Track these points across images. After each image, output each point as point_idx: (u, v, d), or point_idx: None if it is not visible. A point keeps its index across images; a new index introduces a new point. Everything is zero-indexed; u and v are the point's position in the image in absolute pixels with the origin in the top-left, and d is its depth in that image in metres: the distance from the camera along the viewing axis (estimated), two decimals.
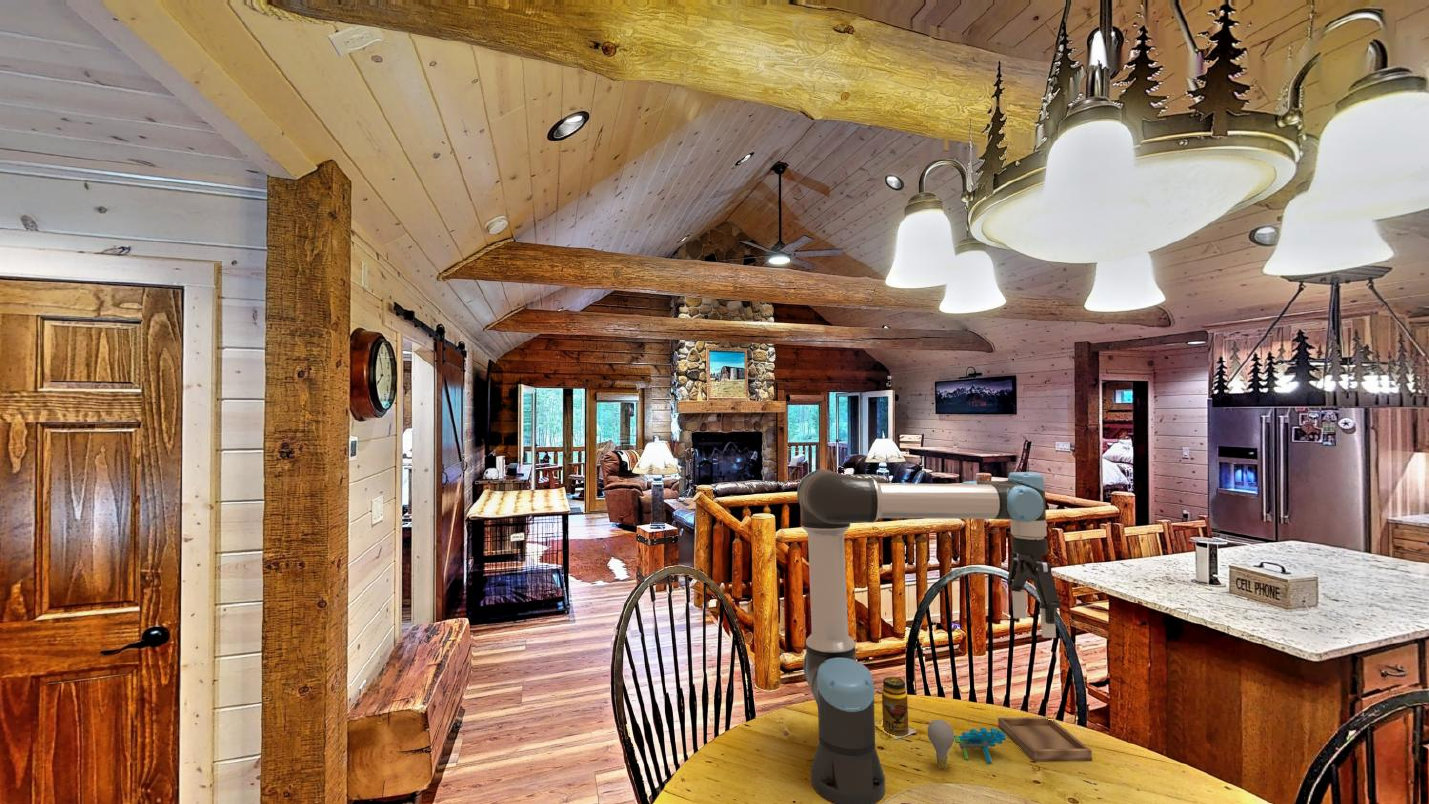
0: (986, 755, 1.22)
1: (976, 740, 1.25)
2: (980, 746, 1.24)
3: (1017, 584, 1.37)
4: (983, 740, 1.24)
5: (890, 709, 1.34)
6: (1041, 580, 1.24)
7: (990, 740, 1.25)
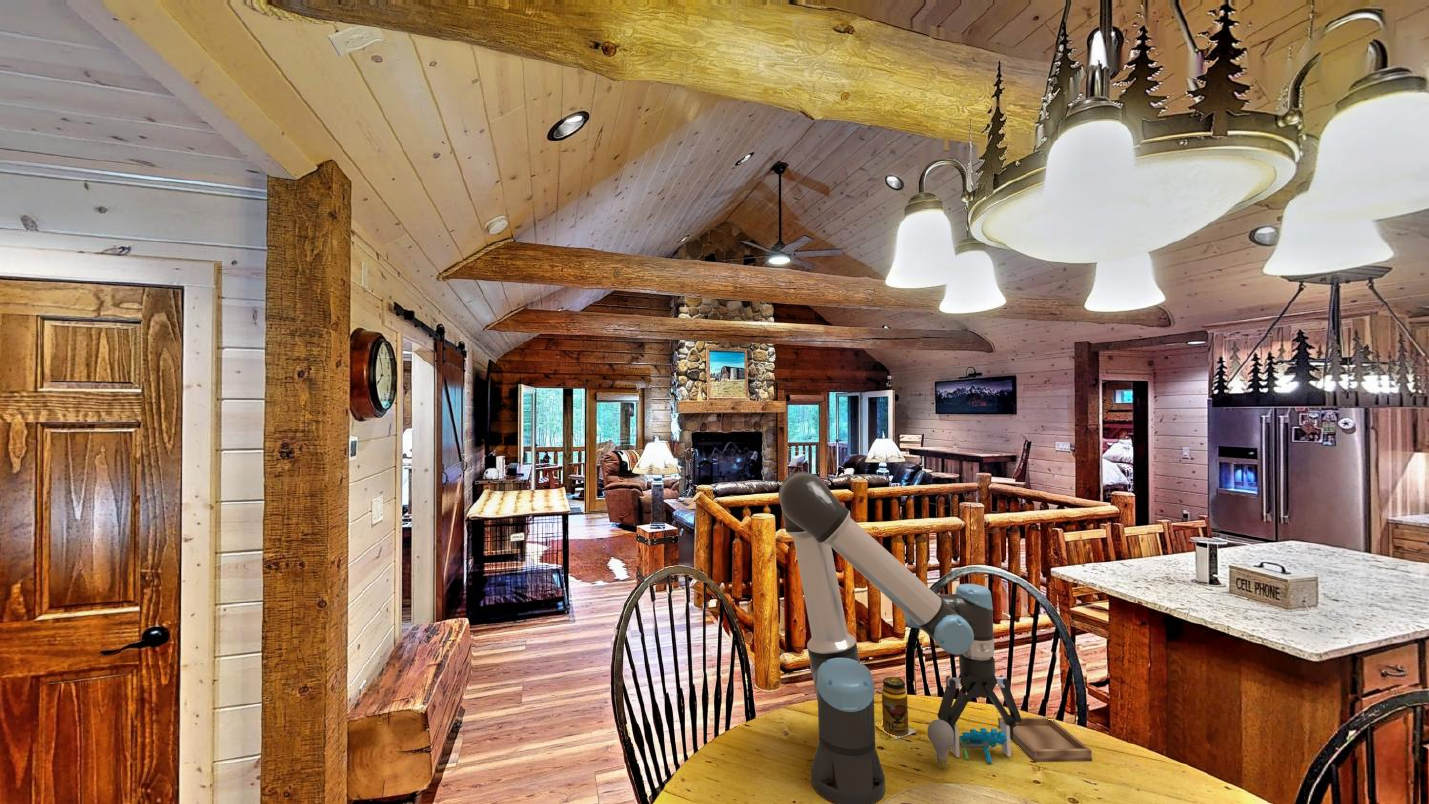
0: (986, 755, 1.22)
1: (977, 740, 1.25)
2: (981, 746, 1.24)
3: (999, 712, 1.26)
4: (984, 740, 1.24)
5: (890, 709, 1.34)
6: None
7: (991, 740, 1.25)
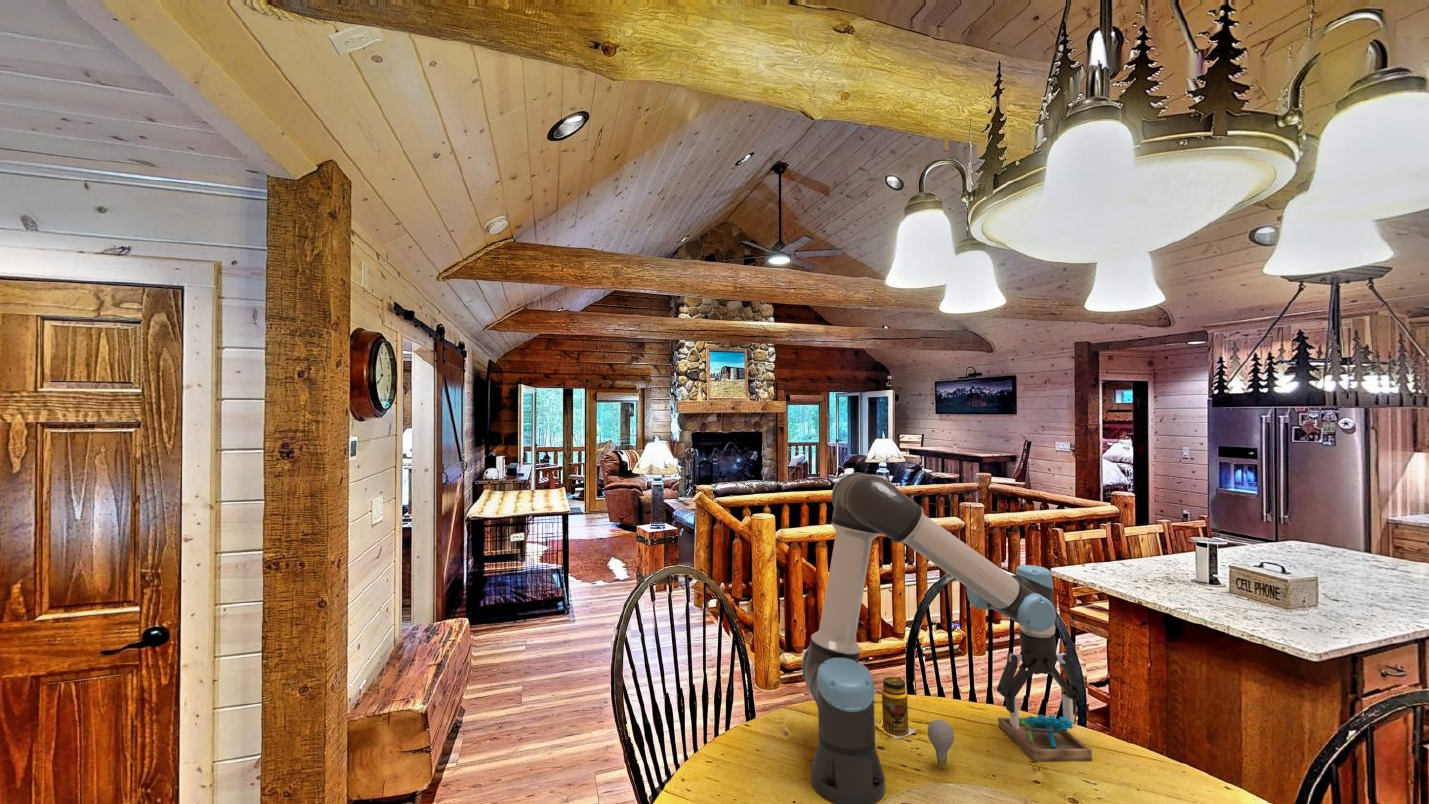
0: (1051, 740, 1.27)
1: (1041, 725, 1.29)
2: (1046, 731, 1.28)
3: (1061, 687, 1.31)
4: (1049, 726, 1.28)
5: (890, 709, 1.34)
6: None
7: (1055, 727, 1.29)
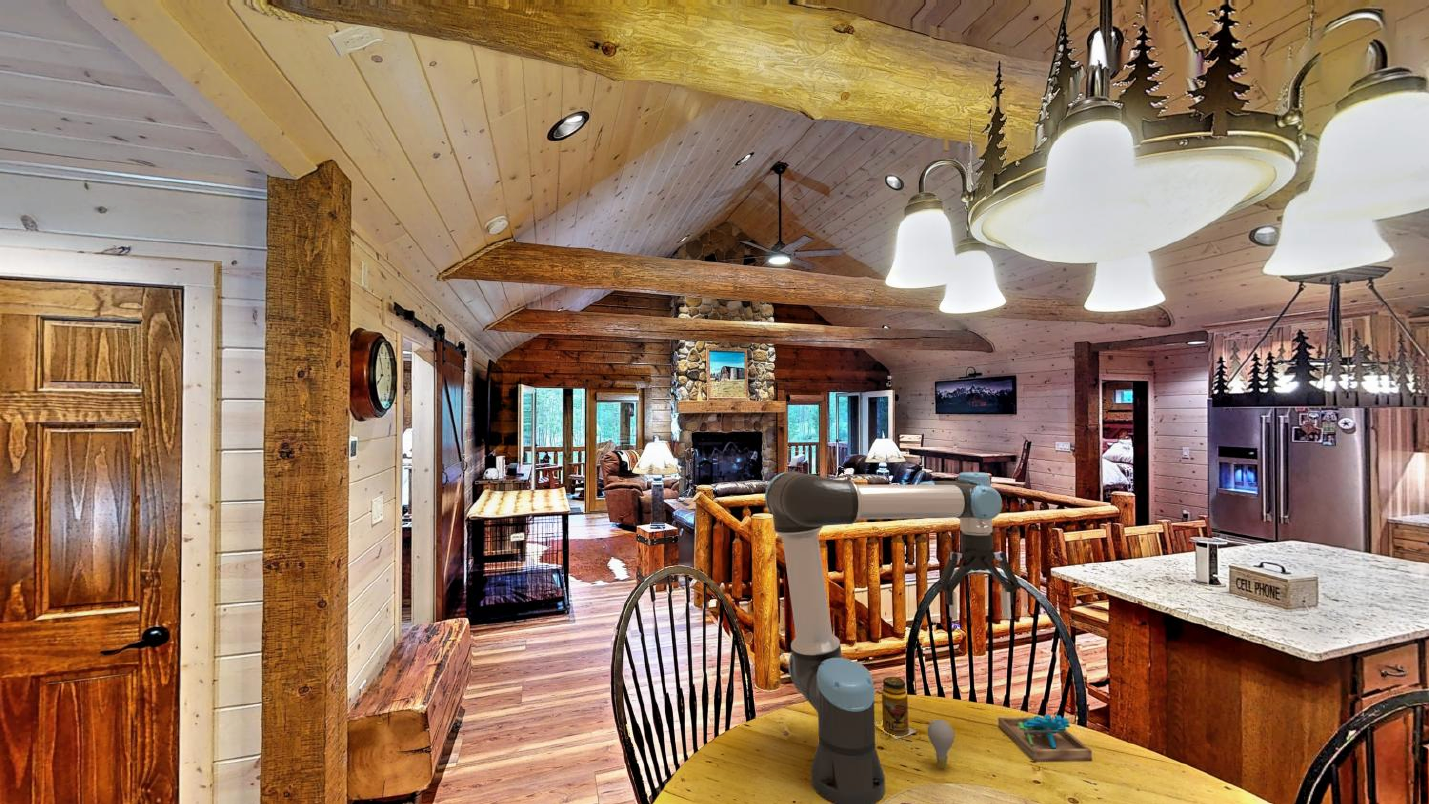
0: (1051, 741, 1.26)
1: (1040, 727, 1.30)
2: (1045, 732, 1.28)
3: (1000, 582, 1.40)
4: (1047, 727, 1.28)
5: (890, 709, 1.34)
6: None
7: (1054, 727, 1.29)
